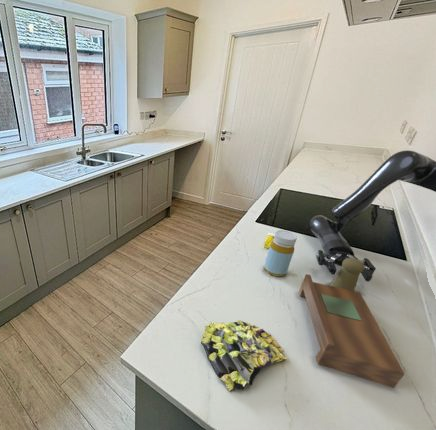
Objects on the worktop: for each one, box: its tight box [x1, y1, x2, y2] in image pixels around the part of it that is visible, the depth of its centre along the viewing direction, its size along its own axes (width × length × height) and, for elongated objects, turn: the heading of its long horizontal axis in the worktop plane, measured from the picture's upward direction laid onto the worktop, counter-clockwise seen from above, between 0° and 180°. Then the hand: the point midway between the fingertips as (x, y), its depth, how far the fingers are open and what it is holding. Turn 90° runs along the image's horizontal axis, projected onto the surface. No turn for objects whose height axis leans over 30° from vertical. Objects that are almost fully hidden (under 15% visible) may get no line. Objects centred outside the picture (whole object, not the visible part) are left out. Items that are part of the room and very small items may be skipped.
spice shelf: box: [298, 273, 406, 388], centre depth 69 cm, size 14×26×7 cm, turn 156°
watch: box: [263, 232, 275, 249], centre depth 105 cm, size 6×3×6 cm, turn 130°
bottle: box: [263, 229, 298, 277], centre depth 90 cm, size 7×7×15 cm
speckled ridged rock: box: [200, 320, 288, 392], centre depth 64 cm, size 20×16×6 cm
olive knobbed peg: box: [329, 258, 365, 291], centre depth 82 cm, size 6×6×11 cm
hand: (351, 275), depth 80 cm, fingers open, 8 cm apart
